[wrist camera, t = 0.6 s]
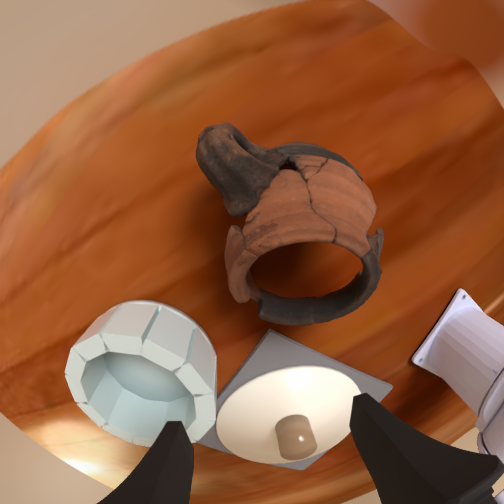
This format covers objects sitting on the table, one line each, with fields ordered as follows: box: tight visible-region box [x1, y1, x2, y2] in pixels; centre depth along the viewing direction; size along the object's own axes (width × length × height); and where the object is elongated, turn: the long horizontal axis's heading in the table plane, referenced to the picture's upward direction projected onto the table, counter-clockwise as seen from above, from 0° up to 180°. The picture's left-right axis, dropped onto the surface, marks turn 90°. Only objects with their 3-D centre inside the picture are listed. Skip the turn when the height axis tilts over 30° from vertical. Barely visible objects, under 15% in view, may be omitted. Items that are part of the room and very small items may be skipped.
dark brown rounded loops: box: [196, 122, 384, 326], centre depth 15 cm, size 12×10×8 cm
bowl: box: [65, 299, 217, 447], centre depth 17 cm, size 10×10×5 cm
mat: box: [196, 328, 393, 470], centre depth 22 cm, size 14×14×1 cm
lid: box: [216, 365, 361, 464], centre depth 20 cm, size 13×13×4 cm
